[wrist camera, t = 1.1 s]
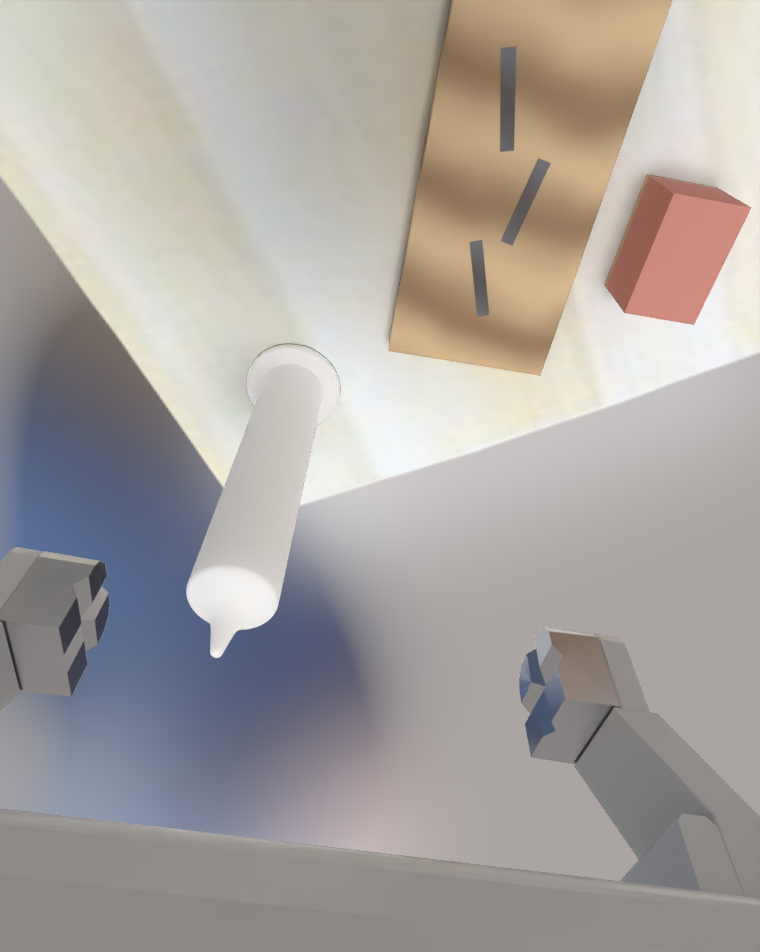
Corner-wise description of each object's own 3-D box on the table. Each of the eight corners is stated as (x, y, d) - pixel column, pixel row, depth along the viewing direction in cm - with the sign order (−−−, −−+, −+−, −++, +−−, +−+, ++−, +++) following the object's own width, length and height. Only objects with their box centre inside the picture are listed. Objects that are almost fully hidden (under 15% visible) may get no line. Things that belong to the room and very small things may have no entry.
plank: (460, -50, 33) (463, -53, 31) (663, -8, 33) (675, -8, 32) (389, 340, 46) (388, 351, 44) (536, 364, 46) (540, 375, 45)
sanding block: (646, 173, 39) (674, 193, 35) (715, 187, 39) (751, 207, 35) (604, 284, 43) (624, 312, 39) (667, 295, 43) (693, 324, 39)
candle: (241, 343, 46) (116, 600, 26) (338, 343, 46) (286, 603, 26) (254, 425, 50) (155, 701, 30) (342, 425, 50) (301, 703, 30)
